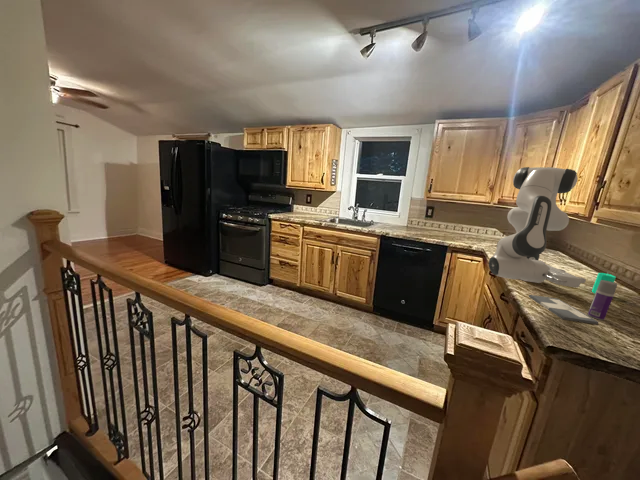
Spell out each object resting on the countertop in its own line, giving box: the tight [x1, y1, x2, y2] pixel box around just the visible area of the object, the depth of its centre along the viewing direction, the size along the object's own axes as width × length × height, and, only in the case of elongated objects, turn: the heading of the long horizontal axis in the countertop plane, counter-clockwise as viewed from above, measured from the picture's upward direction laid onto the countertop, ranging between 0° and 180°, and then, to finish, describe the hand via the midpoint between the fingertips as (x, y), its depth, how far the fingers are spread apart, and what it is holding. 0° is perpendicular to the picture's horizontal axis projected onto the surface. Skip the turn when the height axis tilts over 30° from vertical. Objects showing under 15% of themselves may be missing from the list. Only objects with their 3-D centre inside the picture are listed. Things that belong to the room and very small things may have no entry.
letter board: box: [528, 294, 599, 325], centre depth 105 cm, size 20×12×1 cm, turn 172°
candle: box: [591, 272, 617, 294], centre depth 127 cm, size 6×6×12 cm
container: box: [587, 280, 619, 321], centre depth 100 cm, size 5×5×15 cm
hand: (573, 276), depth 99 cm, fingers open, 8 cm apart
